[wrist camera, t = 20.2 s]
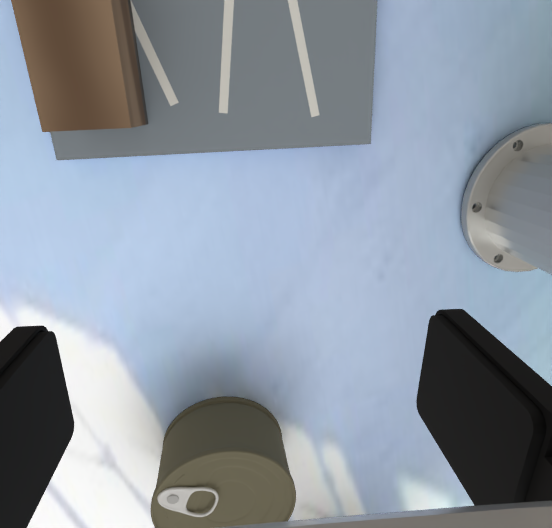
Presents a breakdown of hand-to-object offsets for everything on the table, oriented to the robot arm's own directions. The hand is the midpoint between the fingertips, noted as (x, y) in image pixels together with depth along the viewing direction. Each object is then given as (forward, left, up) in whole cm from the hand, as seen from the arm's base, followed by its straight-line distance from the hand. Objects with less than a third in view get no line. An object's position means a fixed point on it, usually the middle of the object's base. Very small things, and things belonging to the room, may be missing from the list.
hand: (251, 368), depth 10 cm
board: (0, -10, -23) cm, 25 cm away
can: (+2, +25, -23) cm, 34 cm away
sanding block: (+7, -10, -21) cm, 24 cm away
